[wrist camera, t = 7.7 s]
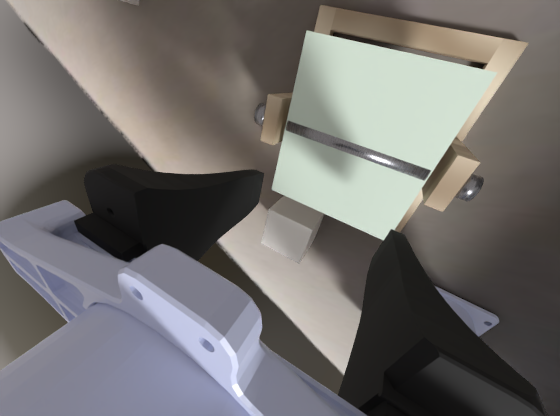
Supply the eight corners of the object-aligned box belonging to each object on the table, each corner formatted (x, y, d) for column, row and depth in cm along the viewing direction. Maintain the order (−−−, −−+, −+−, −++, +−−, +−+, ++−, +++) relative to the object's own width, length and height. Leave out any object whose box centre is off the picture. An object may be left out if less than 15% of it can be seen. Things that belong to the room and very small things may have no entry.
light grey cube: (314, 239, 26) (299, 264, 22) (280, 222, 27) (261, 243, 24) (326, 208, 23) (312, 230, 20) (288, 191, 25) (268, 209, 21)
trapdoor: (388, 224, 17) (386, 242, 15) (284, 179, 19) (270, 190, 18) (482, 74, 11) (498, 72, 10) (320, 37, 14) (305, 30, 12)
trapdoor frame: (406, 231, 21) (405, 280, 15) (277, 175, 24) (242, 200, 19) (535, 47, 13) (621, 21, 8) (316, 6, 16) (273, -30, 11)
